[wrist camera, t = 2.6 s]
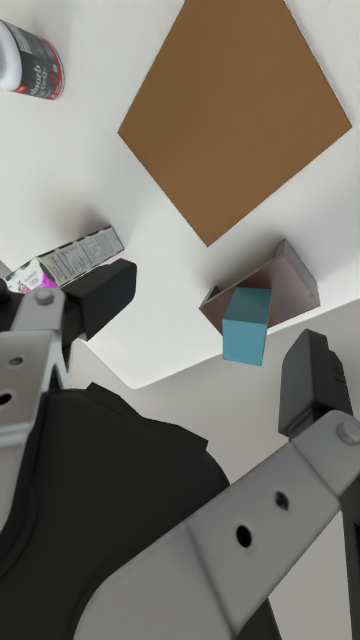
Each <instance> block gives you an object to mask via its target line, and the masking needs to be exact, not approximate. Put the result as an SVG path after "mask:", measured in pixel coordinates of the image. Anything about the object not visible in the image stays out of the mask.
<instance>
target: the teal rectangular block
mask: <svg viewBox="0 0 360 640" xmlns="http://www.w3.org/2000/svg"><path fill="white" fill-rule="evenodd" d="M271 295H272V289H262V288H247V287H236V289H235V292H234V294H233V296H232V299H231V301H230V303H229V305H228V308H227V310H226V312H225V315H224V317H223V319H222V323H223V359H226V360H230V361H235V362H241V363H246V364H251V365H257V366H261V365H262V359H263V353H264V346H265V340H266V334H267V328H268V320H269V312H270V303H271Z"/></svg>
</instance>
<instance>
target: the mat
mask: <svg viewBox="0 0 360 640" xmlns="http://www.w3.org/2000/svg"><path fill="white" fill-rule="evenodd" d="M351 128H352V126H351V124H350V122H349V120H348V118H347V116H346V115H345V113H344V111H343V109H342V107H341V105H340V103H339V102H338V100H337V98H336V96H335V94H334V92H333V91H332V89H331V87H330V85H329V83H328V81H327V80H326V78H325V76H324V74H323V72H322V70H321V69H320V67H319V65H318V63H317V61H316V59H315V58H314V56H313V54H312V52H311V50H310V48H309V47H308V45H307V43H306V41H305V39H304V37H303V36H302V34H301V32H300V30H299V28H298V26H297V24H296V23H295V21H294V19H293V17H292V15H291V13H290V12H289V10H288V8H287V6H286V4H285V2H284V1H283V0H186V1H185V3H184V5H183V7H182V9H181V11H180V12H179V14H178V16H177V18H176V20H175V22H174V24H173V26H172V28H171V30H170V32H169V34H168V36H167V38H166V40H165V41H164V43H163V45H162V47H161V49H160V51H159V53H158V55H157V57H156V59H155V61H154V63H153V65H152V67H151V68H150V70H149V72H148V74H147V76H146V78H145V80H144V82H143V84H142V86H141V88H140V90H139V92H138V94H137V95H136V97H135V99H134V101H133V103H132V105H131V107H130V109H129V111H128V113H127V115H126V117H125V119H124V121H123V123H122V124H121V126H120V128H119V130H118V132H117V133H118V134H119V136H120V137H121V138H122V139H123V141H124V142H125V143H126V144H127V146H128V147H129V148H130V150H131V151H132V152H133V153H134V155H135V156H136V157H137V158H138V160H139V161H140V162H141V163H142V165H143V166H144V167H145V169H146V170H147V171H148V172H149V174H150V175H151V176H152V177H153V179H154V180H155V181H156V183H157V184H158V185H159V186H160V188H161V189H162V190H163V191H164V193H165V194H166V195H167V196H168V198H169V199H170V200H171V202H172V203H173V204H174V205H175V207H176V208H177V209H178V210H179V212H180V213H181V214H182V216H183V217H184V218H185V219H186V221H187V222H188V223H189V224H190V226H191V227H192V228H193V230H194V231H195V232H196V233H197V235H198V236H199V237H200V238H201V240H202V241H203V242H204V243H205V245H206V246H207V247H208V246H210V245H211V244H212V243H213V242H214V241H216V240H217V239H218V238H219V237H220V236H222V235H223V234H224V233H225V232H226V231H228V230H229V229H230V228H231V227H233V226H234V225H235V224H236V223H237V222H239V221H240V220H241V219H242V218H243V217H245V216H246V215H247V214H248V213H249V212H251V211H252V210H253V209H254V208H255V207H257V206H258V205H259V204H260V203H261V202H263V201H264V200H265V199H266V198H267V197H269V196H270V195H271V194H272V193H273V192H275V191H276V190H277V189H278V188H280V187H281V186H282V185H283V184H284V183H286V182H287V181H288V180H289V179H290V178H292V177H293V176H294V175H295V174H296V173H298V172H299V171H300V170H301V169H302V168H304V167H305V166H306V165H307V164H308V163H310V162H311V161H312V160H313V159H314V158H316V157H317V156H318V155H319V154H320V153H322V152H323V151H324V150H325V149H327V148H328V147H329V146H330V145H331V144H333V143H334V142H335V141H336V140H337V139H339V138H340V137H341V136H342V135H343V134H345V133H346V132H347V131H348V130H349V129H351Z"/></svg>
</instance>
